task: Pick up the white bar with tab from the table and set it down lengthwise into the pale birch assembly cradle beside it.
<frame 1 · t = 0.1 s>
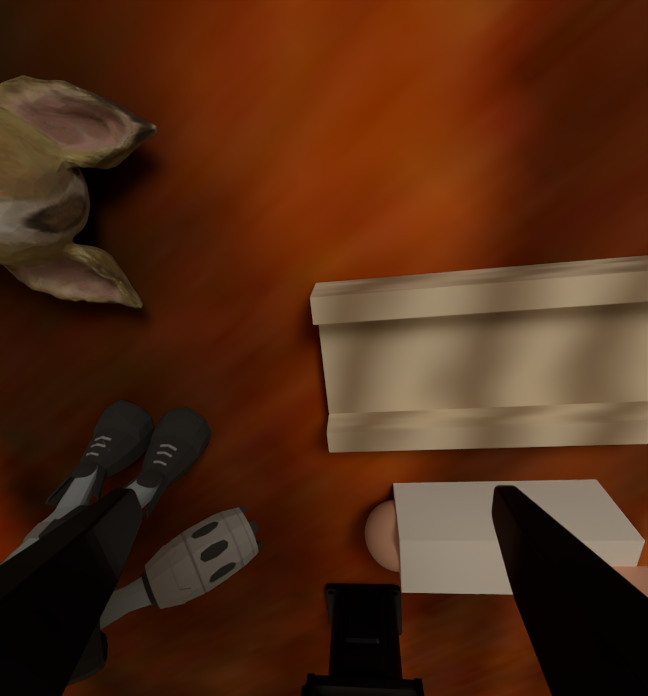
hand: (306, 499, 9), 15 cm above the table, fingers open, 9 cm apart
robot: (158, 428, 28), on the table
white bar with tab: (488, 505, 28), on the table
cradle: (487, 349, 23), on the table
ceramic sculpture: (44, 182, 21), on the table
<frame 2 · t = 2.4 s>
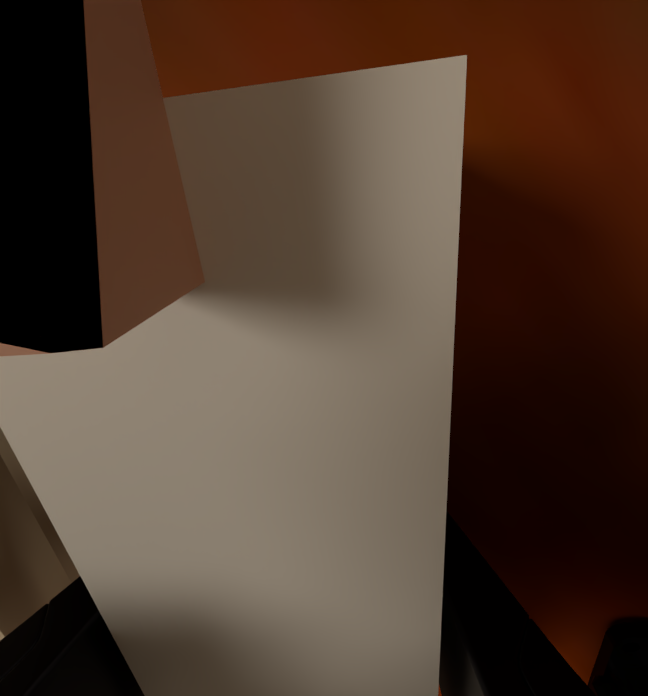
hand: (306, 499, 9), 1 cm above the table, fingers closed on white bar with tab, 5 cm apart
white bar with tab: (309, 439, 10), on the table, touching gripper
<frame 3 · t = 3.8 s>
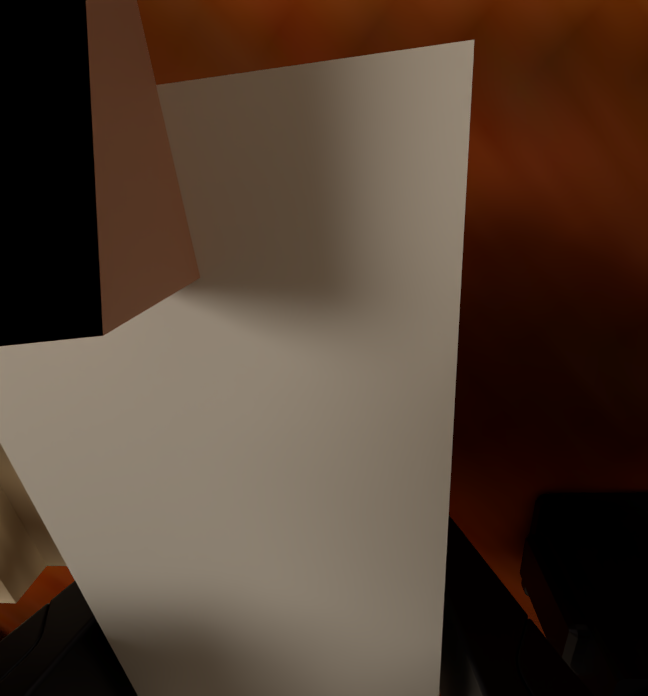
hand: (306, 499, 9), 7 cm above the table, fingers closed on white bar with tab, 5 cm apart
white bar with tab: (308, 439, 10), point 5 cm above the table, touching gripper
cradle: (46, 397, 17), on the table
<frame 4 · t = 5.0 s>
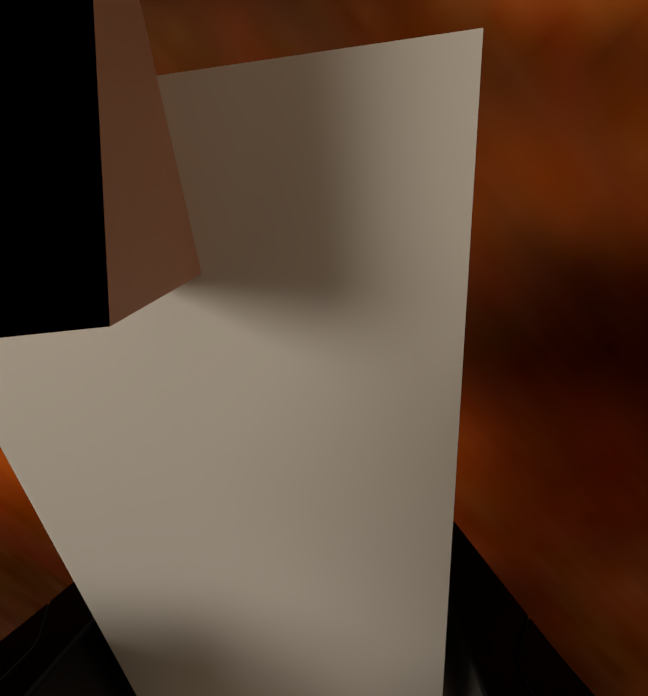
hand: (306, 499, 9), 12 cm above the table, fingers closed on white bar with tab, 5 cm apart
white bar with tab: (309, 439, 10), point 11 cm above the table, touching gripper
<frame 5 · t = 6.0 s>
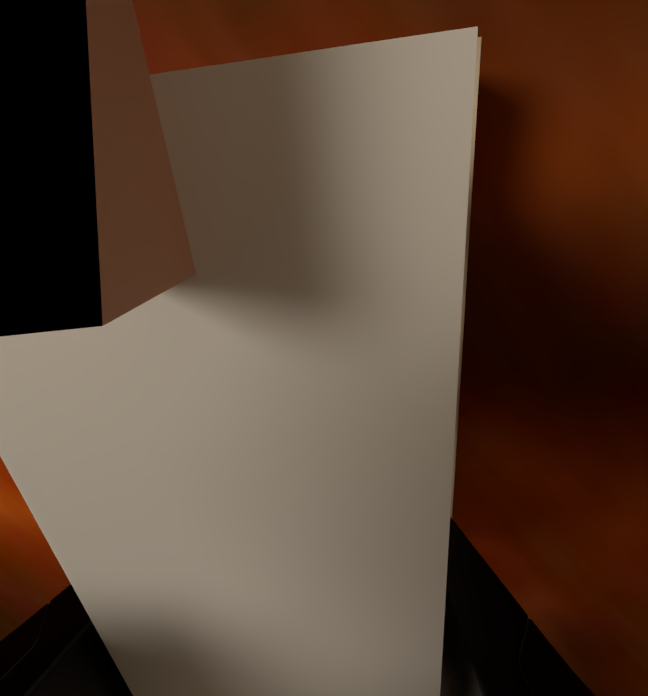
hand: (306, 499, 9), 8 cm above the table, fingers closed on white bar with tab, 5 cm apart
white bar with tab: (308, 440, 10), point 7 cm above the table, touching gripper
cradle: (326, 358, 16), on the table
when the fingers open (4 cm above the table, at t = 7.1 s): white bar with tab drops 2 cm, resting on cradle.
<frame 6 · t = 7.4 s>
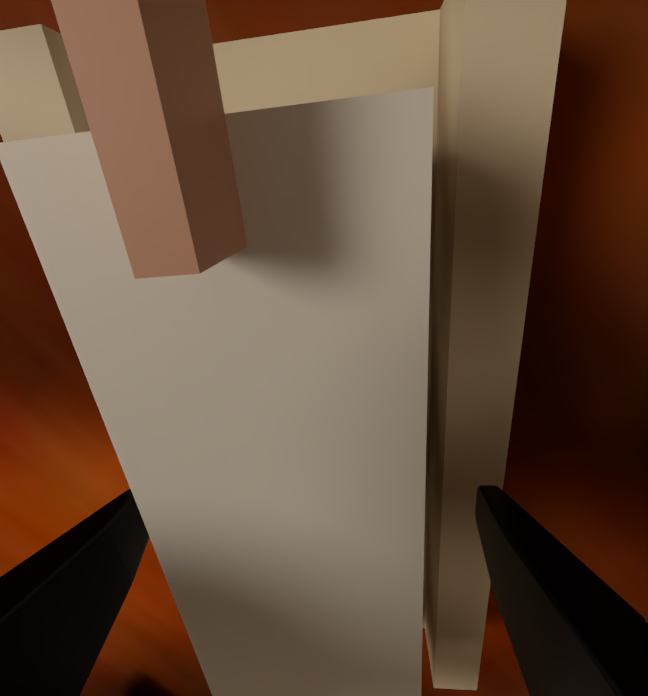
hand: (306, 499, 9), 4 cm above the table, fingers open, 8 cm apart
white bar with tab: (314, 408, 11), point 1 cm above the table, touching cradle
cradle: (319, 412, 13), on the table
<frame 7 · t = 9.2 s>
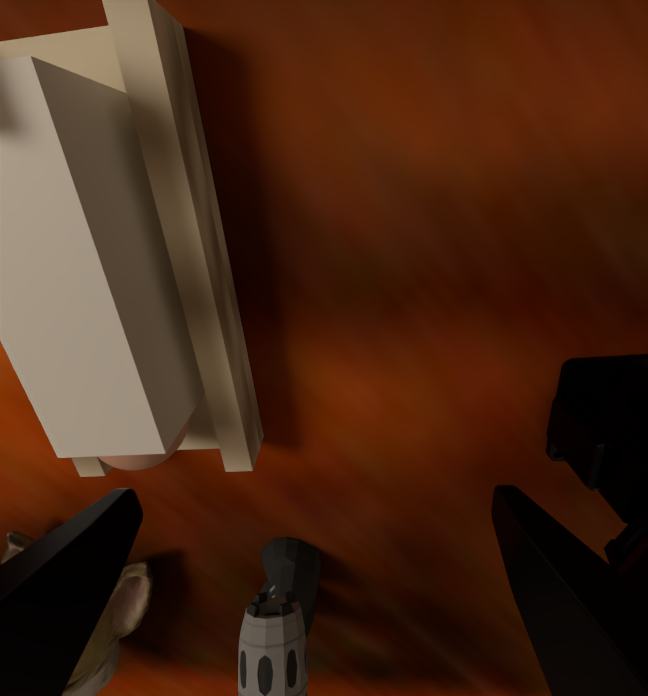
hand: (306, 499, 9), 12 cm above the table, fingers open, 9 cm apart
robot: (291, 572, 28), on the table
white bar with tab: (123, 271, 18), point 1 cm above the table, touching cradle
cradle: (138, 283, 19), on the table
ceramic sculpture: (97, 580, 30), on the table
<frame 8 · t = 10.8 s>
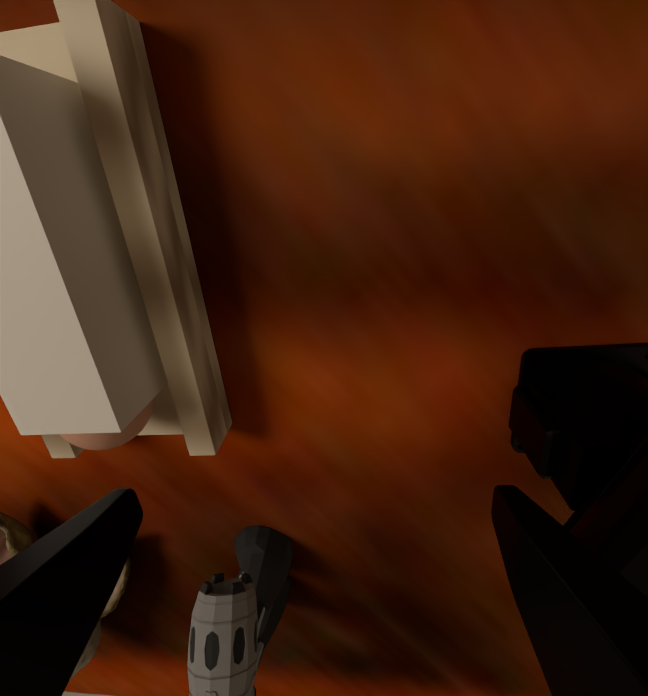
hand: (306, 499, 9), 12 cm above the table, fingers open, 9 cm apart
robot: (265, 561, 29), on the table
white bar with tab: (89, 258, 19), point 1 cm above the table, touching cradle
cradle: (106, 270, 20), on the table
ceramic sculpture: (79, 563, 31), on the table
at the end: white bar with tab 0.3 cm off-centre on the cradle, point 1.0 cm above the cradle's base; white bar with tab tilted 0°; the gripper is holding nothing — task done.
